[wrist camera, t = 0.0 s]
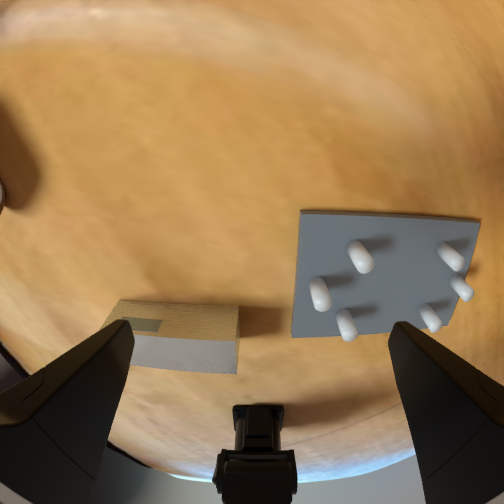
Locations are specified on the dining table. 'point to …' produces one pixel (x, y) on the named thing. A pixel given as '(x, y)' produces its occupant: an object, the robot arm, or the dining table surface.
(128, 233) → the dining table surface
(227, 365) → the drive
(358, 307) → the grey pegged platform
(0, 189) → the tin
